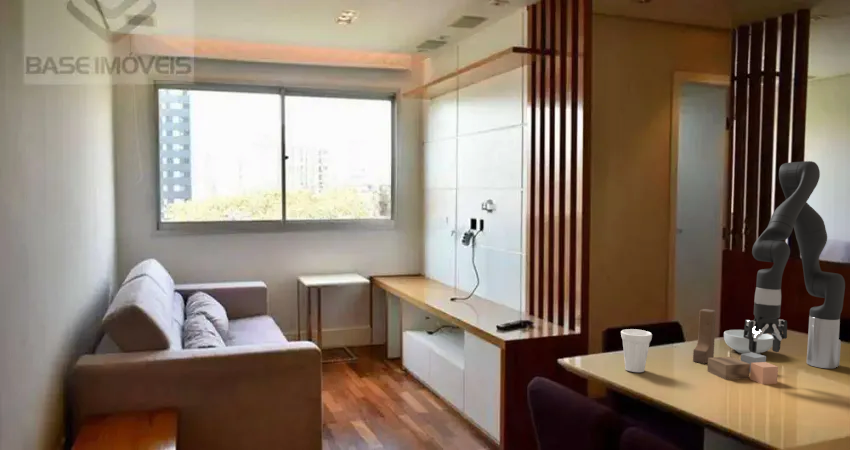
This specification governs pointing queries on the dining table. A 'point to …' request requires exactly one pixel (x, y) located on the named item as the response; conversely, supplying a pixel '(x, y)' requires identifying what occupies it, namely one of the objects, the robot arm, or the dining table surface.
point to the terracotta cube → (764, 373)
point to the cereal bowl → (747, 341)
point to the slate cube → (752, 358)
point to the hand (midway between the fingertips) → (764, 351)
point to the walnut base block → (728, 368)
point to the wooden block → (705, 336)
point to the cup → (635, 348)
